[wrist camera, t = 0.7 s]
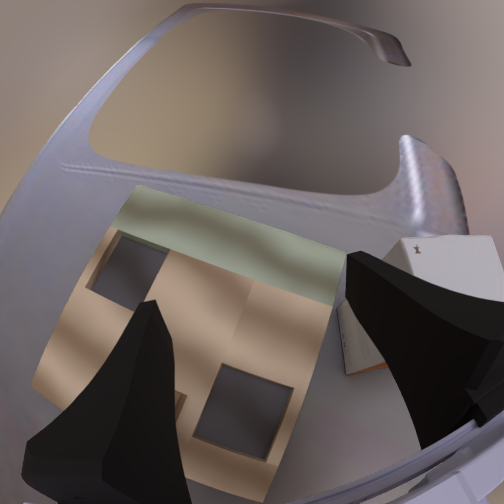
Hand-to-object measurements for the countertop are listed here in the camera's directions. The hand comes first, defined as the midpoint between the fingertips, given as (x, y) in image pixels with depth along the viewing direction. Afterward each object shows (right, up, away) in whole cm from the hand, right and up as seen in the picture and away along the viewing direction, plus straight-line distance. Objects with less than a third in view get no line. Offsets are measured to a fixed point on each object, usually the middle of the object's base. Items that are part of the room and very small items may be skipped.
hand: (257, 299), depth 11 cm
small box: (+12, -6, +15) cm, 20 cm away
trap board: (-6, -5, +14) cm, 16 cm away
